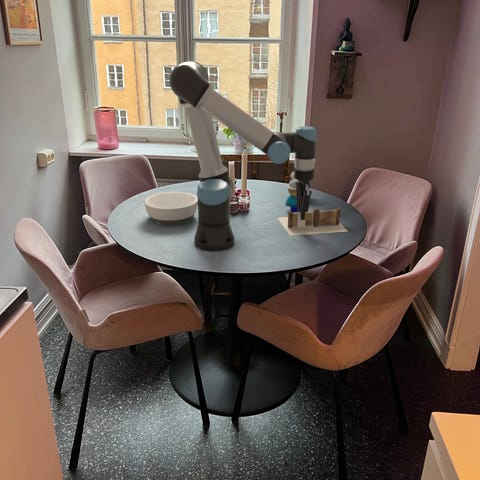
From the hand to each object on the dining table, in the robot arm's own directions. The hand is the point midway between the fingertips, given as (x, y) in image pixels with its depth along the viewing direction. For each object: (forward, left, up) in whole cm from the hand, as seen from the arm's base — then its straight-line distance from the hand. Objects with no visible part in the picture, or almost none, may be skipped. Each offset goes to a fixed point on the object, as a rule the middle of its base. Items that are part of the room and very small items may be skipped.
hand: (301, 226), depth 193 cm
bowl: (-50, +25, -3) cm, 56 cm away
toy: (+4, +23, -3) cm, 24 cm away
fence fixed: (+12, +4, -2) cm, 13 cm away
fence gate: (+1, +4, -2) cm, 5 cm away
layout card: (+6, +6, -2) cm, 9 cm away
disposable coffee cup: (+12, +42, -3) cm, 44 cm away
